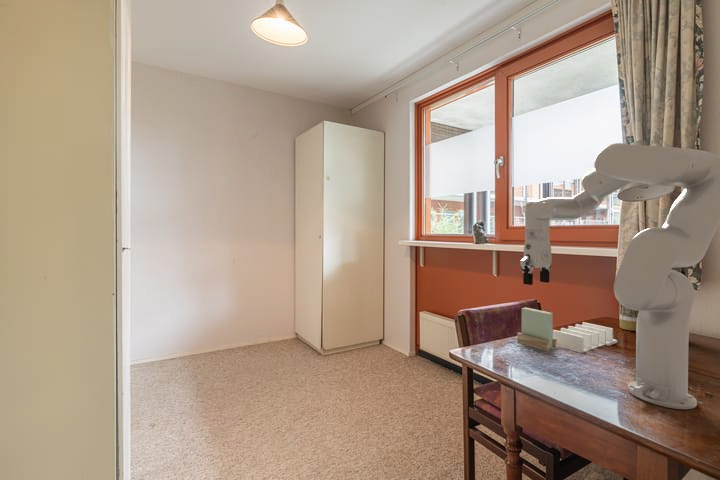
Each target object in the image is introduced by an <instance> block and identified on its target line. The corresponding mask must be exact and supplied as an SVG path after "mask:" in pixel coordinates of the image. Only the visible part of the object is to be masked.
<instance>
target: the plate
mask: <svg viewBox="0 0 720 480" xmlns="http://www.w3.org/2000/svg"><path fill="white" fill-rule="evenodd" d="M553 314H554V312H550V311H549V312H548V311H545V310H541V309H540V310H539V309H535V308H530V307H526V306H524V307H521V332H520V333H523V334H527V335H530V336H534V337H537V338H541V339H544V340H548V341H549V348H552V340H553V330H554V327H553V326H554V323H553V321H554V320H553Z"/></svg>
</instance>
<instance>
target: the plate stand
mask: <svg viewBox="0 0 720 480" xmlns="http://www.w3.org/2000/svg"><path fill="white" fill-rule="evenodd" d="M516 335H517V336H516V342H517V343H519V344H524V345H526V346H530V347H534V348H537V349H540V350H541V351H542V350H543V351H546V352H548V351H551V350H555V349H559V348H560V347H559V346H557V338H553V340H552V348H549V341H548V340H544V339H541V338H537V337H534V336H530V335H527V334H523V333H521V332H517V333H516Z"/></svg>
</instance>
